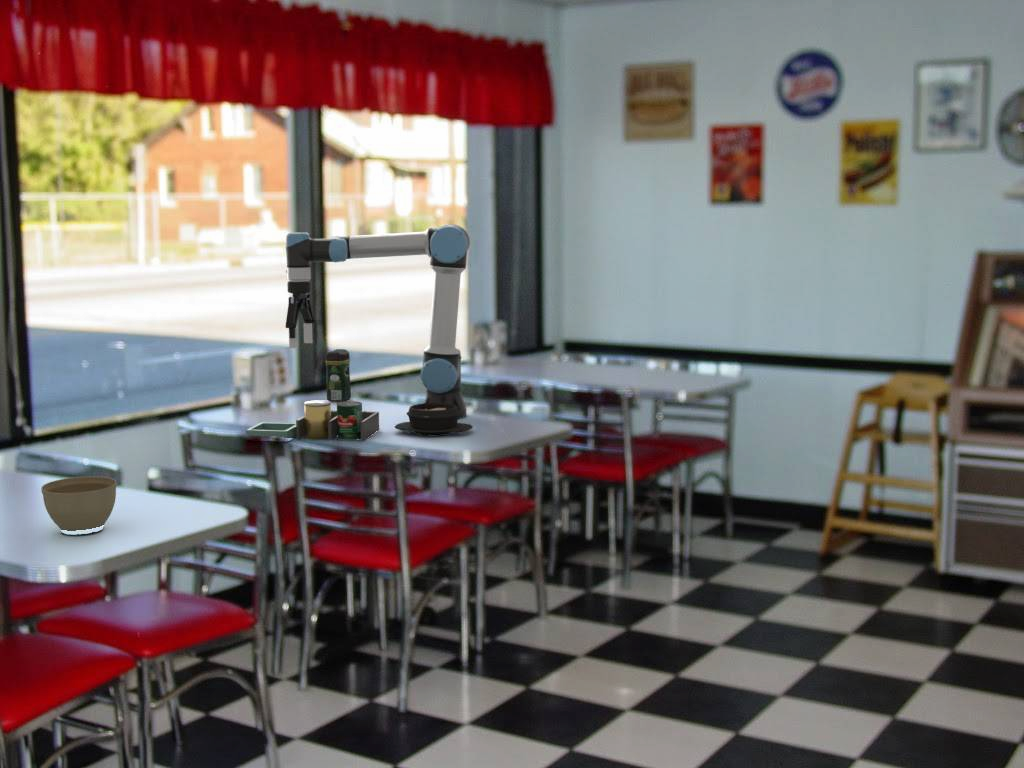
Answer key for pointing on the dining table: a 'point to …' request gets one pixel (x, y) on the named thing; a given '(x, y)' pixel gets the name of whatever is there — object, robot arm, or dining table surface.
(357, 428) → the canned tomato
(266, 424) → the tray
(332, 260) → the robot arm
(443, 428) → the casserole
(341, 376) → the coffee jar
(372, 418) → the clip rack
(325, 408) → the ochre can
